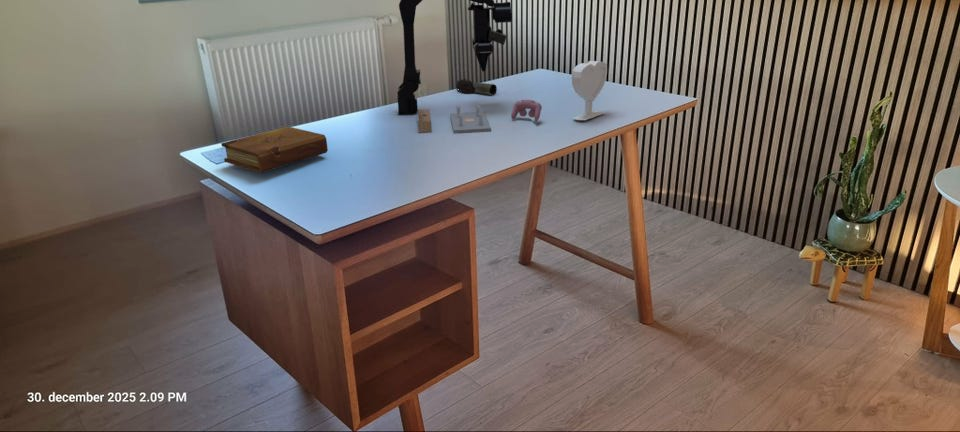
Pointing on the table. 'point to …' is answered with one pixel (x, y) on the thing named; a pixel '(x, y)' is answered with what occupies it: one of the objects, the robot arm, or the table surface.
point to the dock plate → (469, 123)
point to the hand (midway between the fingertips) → (482, 68)
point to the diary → (274, 148)
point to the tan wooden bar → (424, 121)
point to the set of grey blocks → (476, 115)
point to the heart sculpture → (589, 85)
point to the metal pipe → (475, 87)
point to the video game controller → (527, 104)
